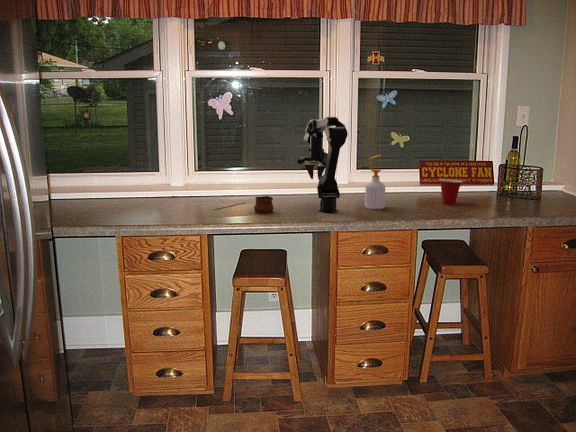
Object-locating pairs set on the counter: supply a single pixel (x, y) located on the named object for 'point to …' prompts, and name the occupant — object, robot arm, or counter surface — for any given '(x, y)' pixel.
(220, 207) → the strip
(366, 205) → the soap bottle
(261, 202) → the ceramic pot
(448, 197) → the plastic cup
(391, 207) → the counter surface
